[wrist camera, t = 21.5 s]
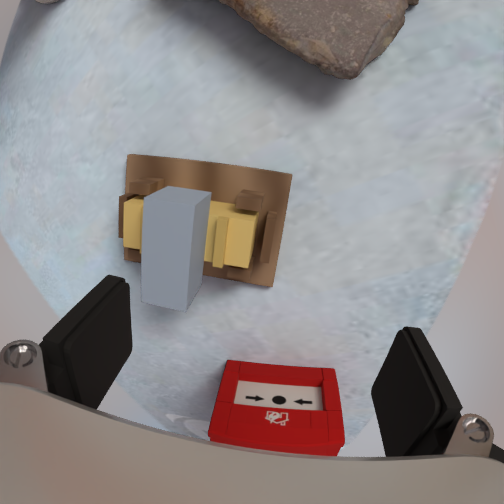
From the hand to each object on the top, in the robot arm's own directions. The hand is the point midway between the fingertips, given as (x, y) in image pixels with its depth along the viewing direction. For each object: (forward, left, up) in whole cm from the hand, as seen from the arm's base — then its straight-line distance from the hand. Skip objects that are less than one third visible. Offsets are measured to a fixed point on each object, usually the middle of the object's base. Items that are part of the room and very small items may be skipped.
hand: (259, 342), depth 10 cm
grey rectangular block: (-9, -5, -22) cm, 24 cm away
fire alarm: (+5, -30, -29) cm, 42 cm away
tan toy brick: (-9, -5, -28) cm, 30 cm away
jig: (-9, -5, -29) cm, 31 cm away
